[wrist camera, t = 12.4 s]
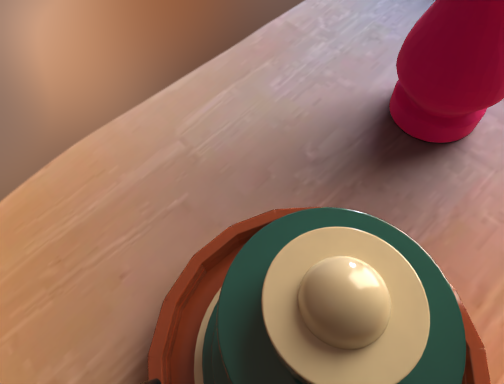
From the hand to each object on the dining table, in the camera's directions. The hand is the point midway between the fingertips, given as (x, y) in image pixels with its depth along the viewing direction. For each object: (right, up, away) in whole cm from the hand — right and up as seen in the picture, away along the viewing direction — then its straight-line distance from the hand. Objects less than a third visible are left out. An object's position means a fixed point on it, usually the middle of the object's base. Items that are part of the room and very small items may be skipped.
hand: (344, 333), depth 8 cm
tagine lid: (+1, -5, +9) cm, 10 cm away
